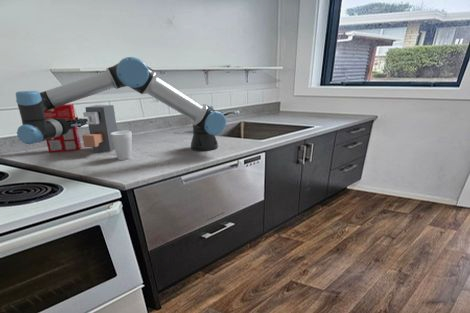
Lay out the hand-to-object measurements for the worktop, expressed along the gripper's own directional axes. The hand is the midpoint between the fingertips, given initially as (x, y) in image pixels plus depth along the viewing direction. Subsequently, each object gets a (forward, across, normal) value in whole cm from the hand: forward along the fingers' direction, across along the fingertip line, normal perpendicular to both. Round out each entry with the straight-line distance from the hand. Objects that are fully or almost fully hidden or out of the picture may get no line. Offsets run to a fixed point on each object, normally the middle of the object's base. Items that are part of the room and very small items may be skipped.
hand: (88, 119), depth 135 cm
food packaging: (+8, -22, -19) cm, 30 cm away
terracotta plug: (+3, +1, -14) cm, 14 cm away
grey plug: (+7, +1, -3) cm, 7 cm away
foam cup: (-6, +19, -19) cm, 28 cm away
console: (+11, +1, -19) cm, 22 cm away
